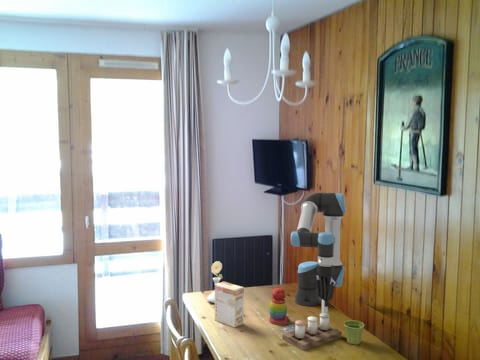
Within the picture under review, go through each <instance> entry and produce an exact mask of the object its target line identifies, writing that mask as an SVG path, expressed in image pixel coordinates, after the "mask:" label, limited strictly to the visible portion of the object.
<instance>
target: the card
mask: <svg viewBox="0 0 480 360" xmlns="http://www.w3.org/2000/svg"><path fill="white" fill-rule="evenodd" d="M305 327H308V325H305ZM278 331H280V332H282V333H283V334H285V333H289V332H292V331H295V323H293V324H290V325H285V326H282V327H280V328H278Z"/></svg>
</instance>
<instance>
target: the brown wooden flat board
mask: <svg viewBox="0 0 480 360" xmlns="http://www.w3.org/2000/svg"><path fill="white" fill-rule="evenodd" d="M342 334H343V333H342V331H340V330H338V329H336V328H334V327H331V326H330V325H329V329H328V330H322V329H320V322H317V333H316V334H310V333H308V326H307V327H305V337H304V338H297V337H296V336H295V331H292V332H289V333H283V334H282V341H283V340H284V341H285V342H286V343H289V344H290V345H292V346H294V347H296V348H298V349H299V350H302V351H305V350H308V349H312V348H314V347H317V346H320V345H322V344H325V343H328V342H331V341H335V340H337V339H339V338H342V337H343V336H342ZM299 339H301V340H299Z"/></svg>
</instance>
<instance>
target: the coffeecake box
mask: <svg viewBox="0 0 480 360" xmlns="http://www.w3.org/2000/svg"><path fill="white" fill-rule="evenodd" d="M214 290H215V303H214V321H216V322H219V323H221V324H224V325H227V326H229V327H233V328H234V329H235V328H237V327H240V326H242V325H244V323H245V321H244V317H245V316H244V312H245V309H244V308H245V307H244V303H245V301H244V295H245V294H244V290H245V287H244V286H242V285H241V286H240V285H237V284H233V283H230V282H227V281H222V282H220V281H219V283H217V284H215V283H214Z"/></svg>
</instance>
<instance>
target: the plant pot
mask: <svg viewBox="0 0 480 360" xmlns="http://www.w3.org/2000/svg"><path fill="white" fill-rule="evenodd" d="M343 325H344V328H345V335H346V341H347V343H348V344H349V345H360V344H361V340H362V334H363V331H364V330H363V329H364V327H365V324H364V323H363V322H362V321H359V320H353V319H352V320H350V319H349V320H346V321H344V322H343Z"/></svg>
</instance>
